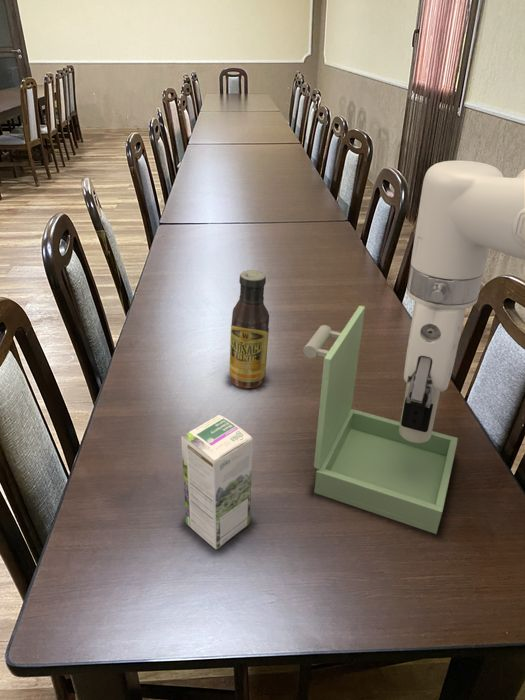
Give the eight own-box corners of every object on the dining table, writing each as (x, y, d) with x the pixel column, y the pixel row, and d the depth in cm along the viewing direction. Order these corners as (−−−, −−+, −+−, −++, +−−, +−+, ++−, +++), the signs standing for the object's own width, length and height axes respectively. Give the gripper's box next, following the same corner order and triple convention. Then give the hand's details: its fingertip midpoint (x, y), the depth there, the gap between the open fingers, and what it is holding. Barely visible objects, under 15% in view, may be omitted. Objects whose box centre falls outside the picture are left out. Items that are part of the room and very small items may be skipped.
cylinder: (431, 426, 70) (442, 374, 66) (430, 445, 67) (441, 393, 63) (399, 420, 71) (408, 369, 67) (397, 439, 68) (406, 387, 63)
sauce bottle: (224, 387, 91) (223, 279, 81) (235, 368, 96) (234, 264, 86) (262, 393, 90) (265, 284, 79) (270, 373, 95) (274, 269, 85)
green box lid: (365, 306, 72) (330, 299, 73) (330, 359, 60) (290, 349, 62) (352, 406, 80) (321, 397, 82) (319, 469, 69) (284, 458, 70)
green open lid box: (452, 458, 77) (458, 437, 75) (436, 534, 66) (442, 512, 64) (346, 428, 83) (349, 407, 81) (314, 492, 71) (316, 471, 69)
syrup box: (219, 499, 70) (217, 410, 62) (252, 525, 66) (253, 434, 59) (185, 524, 66) (178, 433, 58) (217, 553, 63) (214, 460, 55)
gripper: (471, 322, 50) (438, 468, 60) (486, 262, 63) (457, 389, 73) (391, 307, 53) (371, 449, 62) (422, 252, 66) (401, 376, 75)
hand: (418, 415), depth 67 cm, fingers closed on cylinder, 4 cm apart
